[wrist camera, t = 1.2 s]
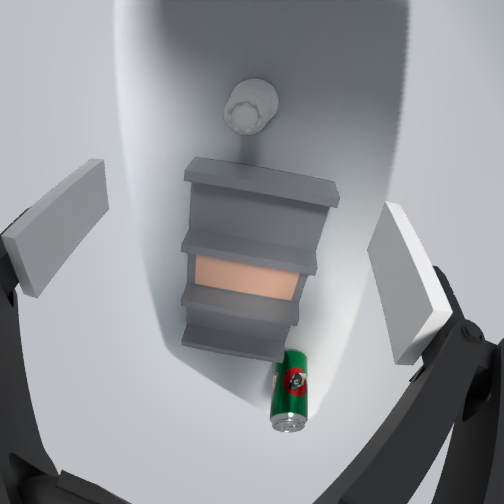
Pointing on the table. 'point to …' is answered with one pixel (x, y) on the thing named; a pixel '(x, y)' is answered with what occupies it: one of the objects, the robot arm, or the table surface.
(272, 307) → the stepped slat stand
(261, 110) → the rook chess piece
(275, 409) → the soda can
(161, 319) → the table surface
